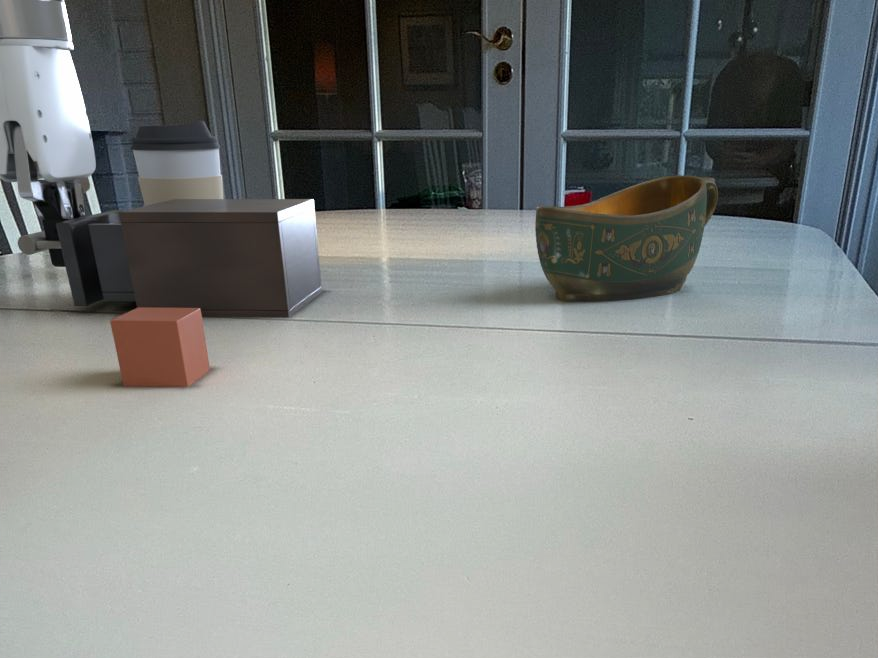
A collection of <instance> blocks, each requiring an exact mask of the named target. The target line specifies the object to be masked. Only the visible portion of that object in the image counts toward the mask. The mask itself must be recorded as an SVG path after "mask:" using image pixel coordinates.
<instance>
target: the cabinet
mask: <svg viewBox="0 0 878 658" xmlns="http://www.w3.org/2000/svg"><path fill="white" fill-rule="evenodd" d="M119 216H120V221H121V226H122V232H123V237H124V242H125V247H126V252H127V258H128V263H129V268H130V273H131V279H132V284H133V289H134V294H135V299H136V302H135V304H136V308H138V307H144V308H200V309H201V314H202V318H203V317H205V318H206V317H208V318H210V317H212V318H213V317H214V318H225V317H226V318H290V317H292V316H293V315H295V313H297V312H298V311H300V310H301V309H302V308H303V307H305V306H306V305H307V304H308V303H310V302H312V301H313V300H314V299H316V298H317V297H318V296H319V295H321V294H322V293H323V286H322V277H321V276H322V275H321V266H320V252H319V243H318V233H317V221H316V209H315V200H314V198H223V199H173V200H169V201H165V202H160V203H156V204H152V205H147V206H145V205H143V206H140V207H135V208H130V209H125V210H124V211H121V212H119Z"/></svg>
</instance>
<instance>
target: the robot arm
mask: <svg viewBox="0 0 878 658" xmlns="http://www.w3.org/2000/svg"><path fill="white" fill-rule="evenodd" d="M74 49H75V48H74V44H73V38H72V32H71V28H70V22H69V18H68V13H67V8H66V3H65V0H0V179H1V180H2V181H4V182H6V183H17V191H18V195H19V197H20V198H21V199H23V200H26V201H29V202H32V203H33V204H34V208H35V210H36V214H37V218H38V219H39V220H41V223H42V227H43V231H44V232H45V236H46V240H47V241H60V240H59V235H58V231H57V227H56V223H58V222H62V221H67V220H71V219H76V218H80V217H85V216H86V210H85V209H86V208H85V203H84V201H85V200H84V195H85V194H86V193H87V192H88V191H90V189H91V182H90V178H89V177H90V176H92V175H93V174H94V173H95V171H96V169H97V168H96V167H97V162H96V161H97V160H96V152H95V148H94V141H93V136H92V132H91V131H92V130H91V127H90V123H89V118H88V114H87V110H86V105H85V101H84V97H83V93H82V90H81V86H80V82H79V79H78V76H77V72H76V68H75V65H74V62H73V59H72V55H71V52H70V51H74ZM48 253H49V257H50V263H51V265H52V266H53V267H55V268H66V266H65V262H64V258H63V253H62V249H49V250H48Z"/></svg>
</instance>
